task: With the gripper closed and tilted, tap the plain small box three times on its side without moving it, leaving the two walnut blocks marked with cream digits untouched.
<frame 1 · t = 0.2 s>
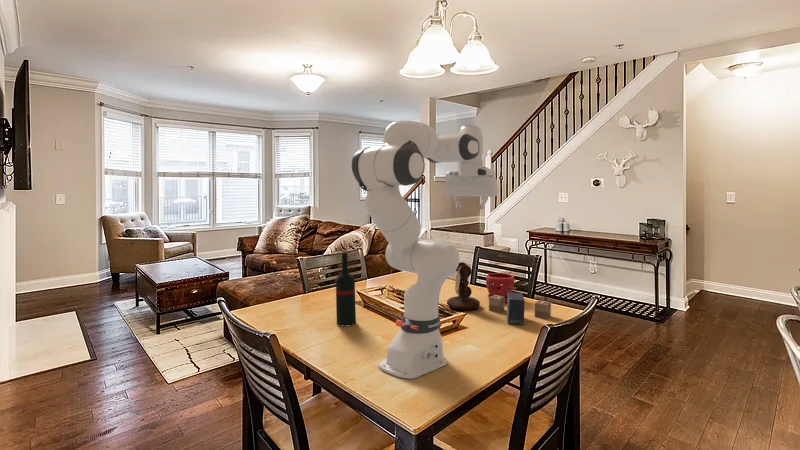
hand: (470, 208, 154), 47 cm above the table, tool pointing down, fingers open, 8 cm apart
wine bottle: (346, 322, 170), on the table
dark brown knobbly figurine: (463, 307, 188), on the table
small box: (515, 321, 170), on the table
walnut block seven: (496, 310, 183), on the table
plant pot: (499, 299, 199), on the table
walnut block one: (542, 316, 175), on the table
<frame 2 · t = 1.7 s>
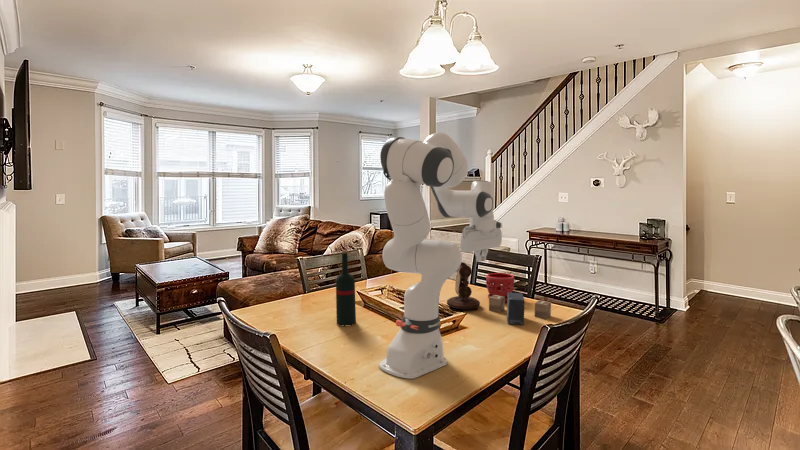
hand: (481, 261, 156), 27 cm above the table, tool pointing down, fingers closed
nothing on the table moved.
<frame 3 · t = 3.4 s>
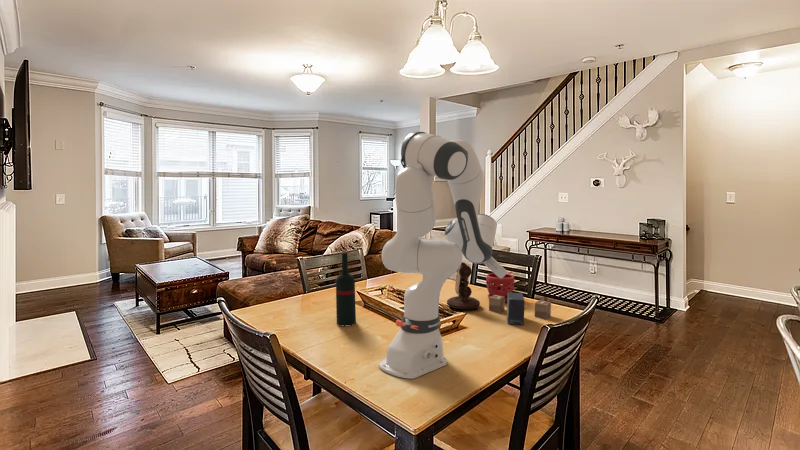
hand: (502, 272, 159), 22 cm above the table, tool tilted 50°, fingers closed
nothing on the table moved.
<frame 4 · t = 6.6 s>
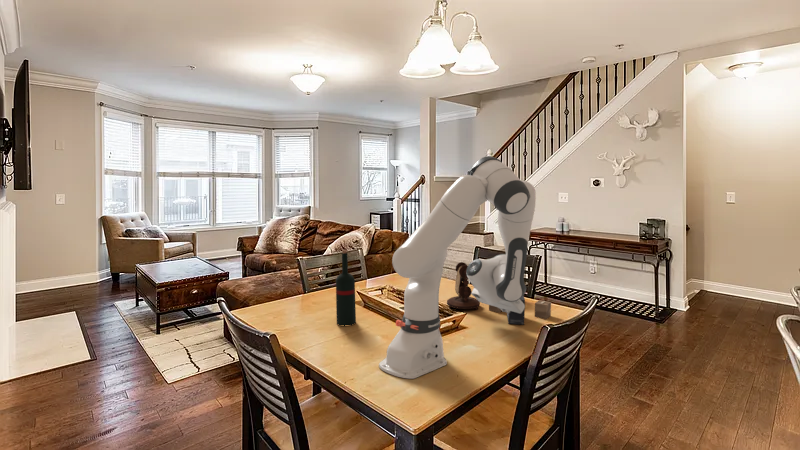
hand: (506, 311, 165), 5 cm above the table, tool tilted 45°, fingers closed
small box: (515, 320, 170), on the table, touching gripper
everything else where it was.
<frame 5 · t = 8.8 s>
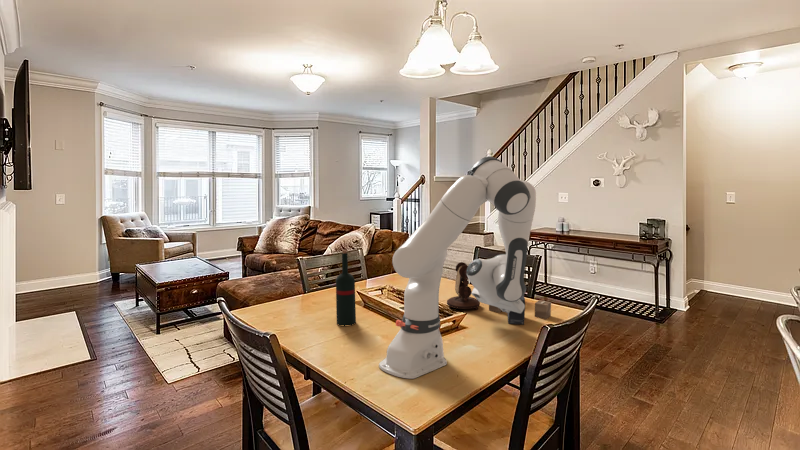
hand: (506, 310, 165), 5 cm above the table, tool tilted 45°, fingers closed
small box: (515, 320, 170), on the table
everything else where it was.
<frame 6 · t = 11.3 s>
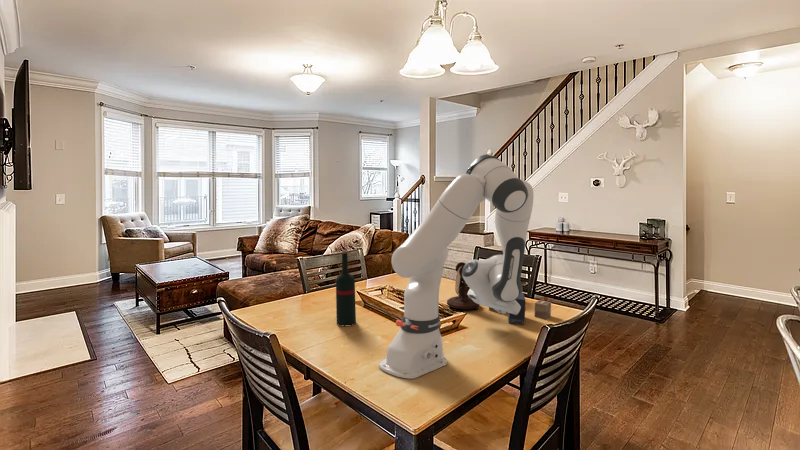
hand: (502, 312, 164), 5 cm above the table, tool tilted 45°, fingers closed
nothing on the table moved.
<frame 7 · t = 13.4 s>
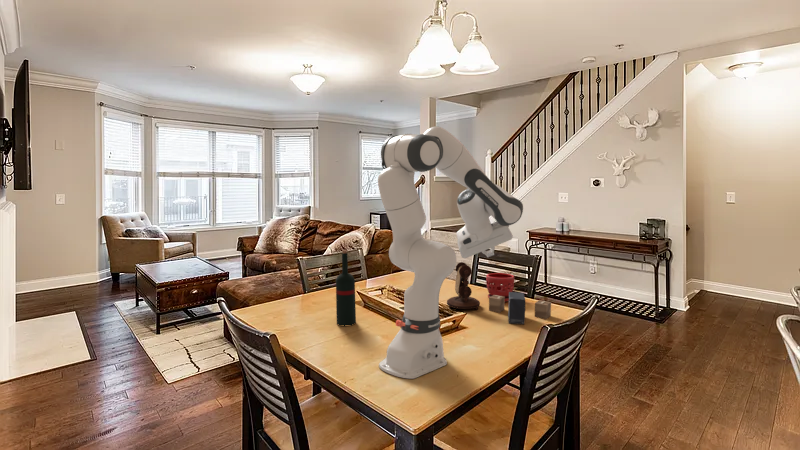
hand: (490, 255, 157), 29 cm above the table, tool tilted 40°, fingers closed
nothing on the table moved.
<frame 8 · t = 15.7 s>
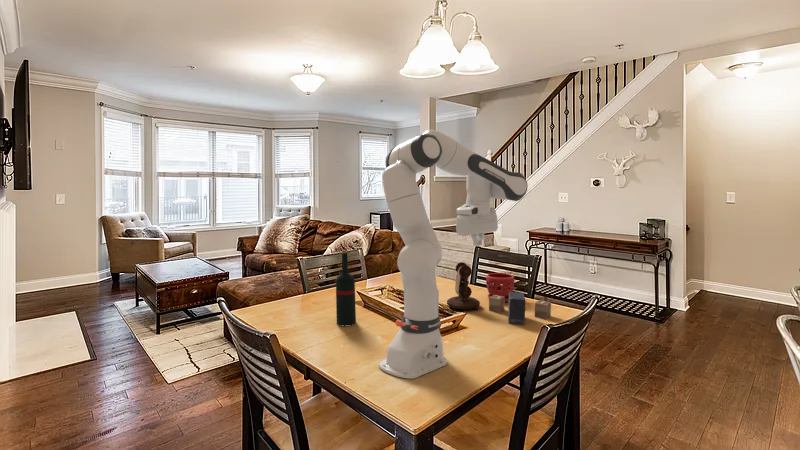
hand: (477, 245, 155), 33 cm above the table, tool pointing down, fingers closed
nothing on the table moved.
at the end: small box moved 1.0 cm from its start; small box tilted 0°; the gripper is holding nothing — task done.
